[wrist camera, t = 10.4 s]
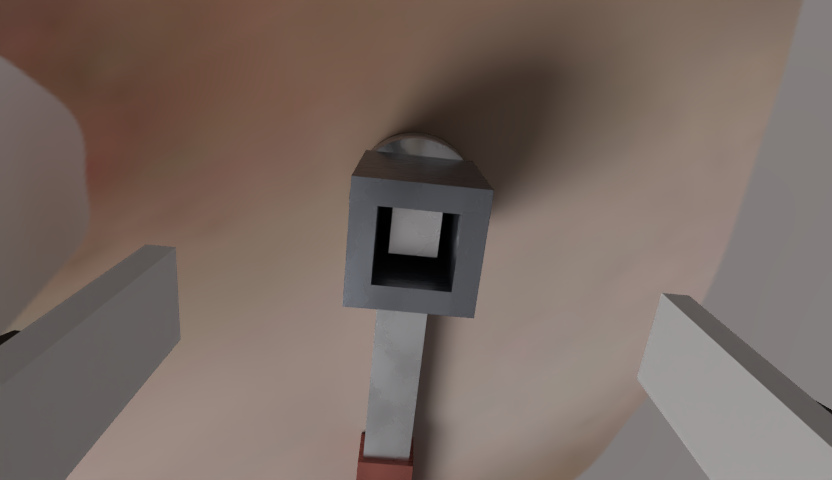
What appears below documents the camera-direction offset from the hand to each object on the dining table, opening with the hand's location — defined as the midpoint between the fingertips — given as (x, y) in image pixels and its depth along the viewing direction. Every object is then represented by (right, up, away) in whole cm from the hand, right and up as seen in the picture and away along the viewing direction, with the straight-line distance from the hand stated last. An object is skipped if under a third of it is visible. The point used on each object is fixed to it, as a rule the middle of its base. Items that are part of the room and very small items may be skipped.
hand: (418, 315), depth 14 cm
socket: (0, +4, +13) cm, 14 cm away
